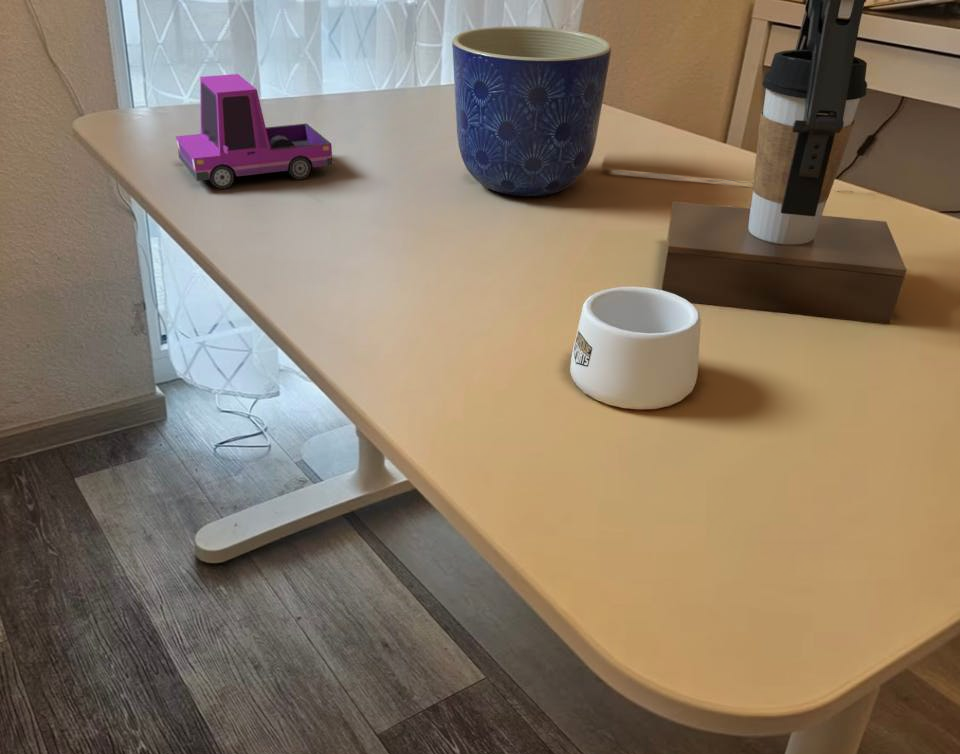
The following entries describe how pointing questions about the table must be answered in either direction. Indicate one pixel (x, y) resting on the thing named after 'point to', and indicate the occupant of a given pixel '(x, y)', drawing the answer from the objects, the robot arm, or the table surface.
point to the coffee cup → (792, 147)
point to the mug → (636, 348)
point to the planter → (528, 105)
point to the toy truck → (246, 137)
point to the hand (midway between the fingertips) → (792, 188)
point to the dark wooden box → (783, 265)
